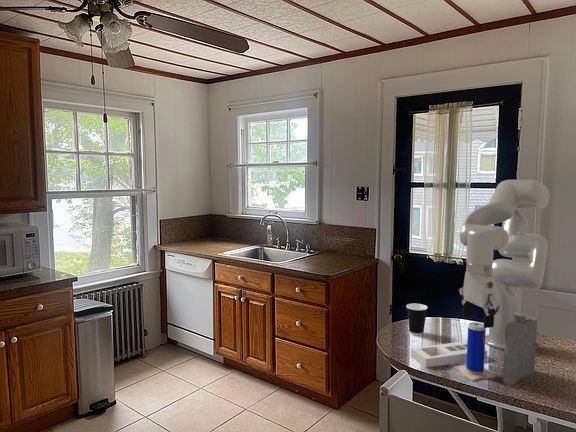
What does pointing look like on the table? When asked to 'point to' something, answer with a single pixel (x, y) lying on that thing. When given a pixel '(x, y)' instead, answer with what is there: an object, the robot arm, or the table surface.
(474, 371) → the beverage can
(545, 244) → the robot arm
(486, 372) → the coaster pad
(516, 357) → the hip flask
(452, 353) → the power strip
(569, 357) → the table surface
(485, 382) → the table surface
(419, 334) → the dixie cup
